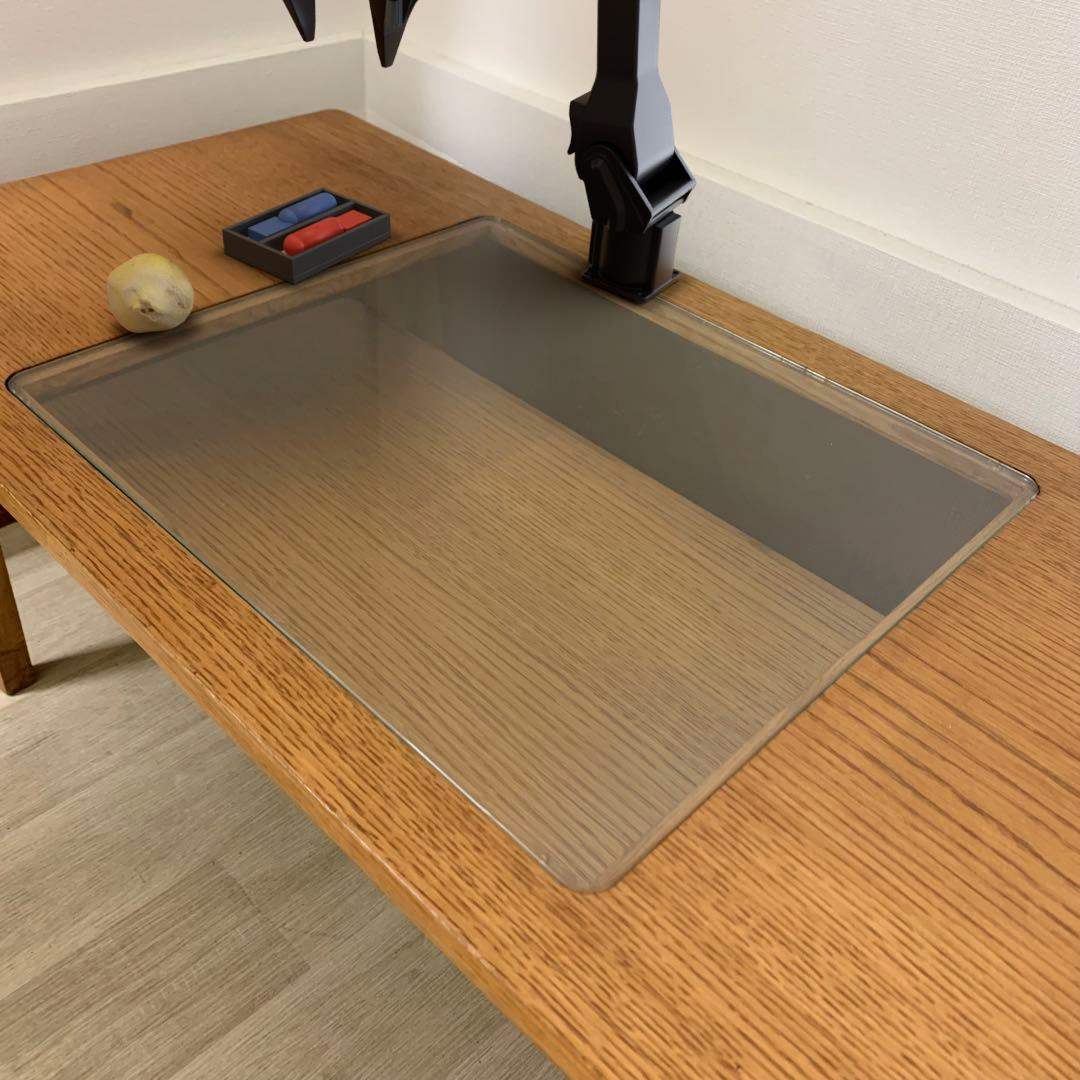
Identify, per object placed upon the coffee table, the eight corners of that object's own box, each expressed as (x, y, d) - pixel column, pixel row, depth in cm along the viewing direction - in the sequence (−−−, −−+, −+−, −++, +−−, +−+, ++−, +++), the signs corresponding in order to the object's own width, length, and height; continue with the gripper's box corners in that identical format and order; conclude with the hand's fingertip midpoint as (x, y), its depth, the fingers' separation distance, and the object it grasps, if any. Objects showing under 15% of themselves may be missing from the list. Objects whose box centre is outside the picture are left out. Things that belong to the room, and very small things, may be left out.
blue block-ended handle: (324, 208, 101) (323, 186, 100) (342, 215, 100) (342, 194, 99) (248, 241, 95) (246, 218, 94) (267, 249, 94) (265, 227, 93)
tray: (390, 237, 100) (390, 213, 98) (293, 284, 92) (292, 259, 90) (323, 210, 103) (322, 186, 101) (224, 253, 95) (221, 229, 94)
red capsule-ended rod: (297, 265, 93) (296, 242, 91) (278, 257, 94) (276, 234, 92) (372, 229, 99) (372, 208, 97) (353, 222, 100) (352, 200, 98)
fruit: (191, 284, 91) (212, 328, 83) (120, 314, 90) (135, 361, 82) (158, 217, 87) (177, 257, 79) (84, 247, 86) (95, 291, 78)
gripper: (495, -140, 91) (486, 60, 101) (324, -178, 99) (331, 12, 109) (405, -125, 84) (405, 89, 94) (228, -167, 91) (246, 35, 102)
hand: (347, 53), depth 100 cm, fingers open, 9 cm apart
